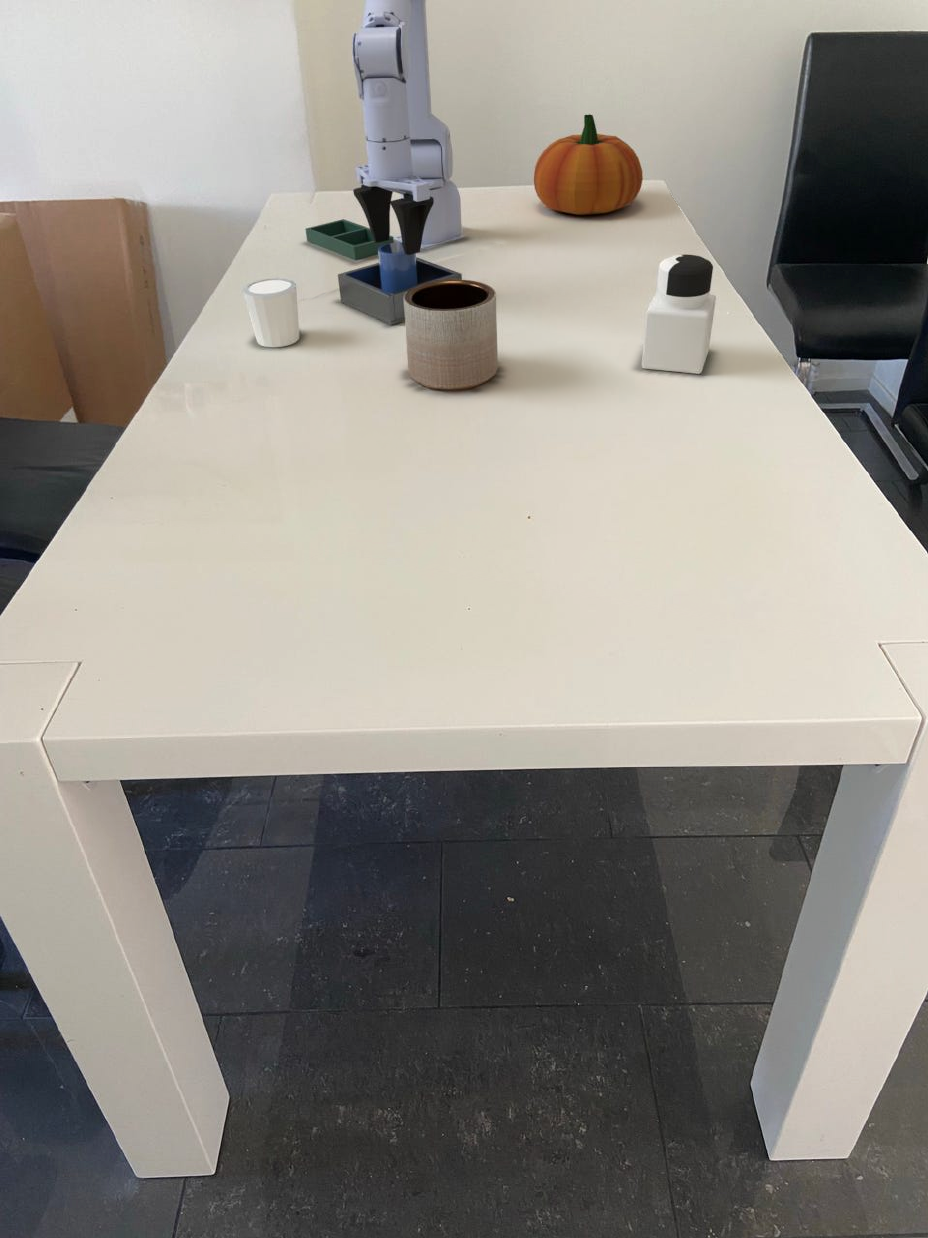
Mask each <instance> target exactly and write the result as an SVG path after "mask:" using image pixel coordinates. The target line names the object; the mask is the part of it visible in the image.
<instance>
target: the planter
mask: <svg viewBox="0 0 928 1238" xmlns="http://www.w3.org/2000/svg"><path fill="white" fill-rule="evenodd" d="M403 299H404V313H405V321H404V325H405V327H404V328H405V340H406V342H405V343H406V358H407V369H408V374H409V377H411V379H412V380H413V381H415V382H416V383H418V384H420V385H422V386H424V387H427V388H431V389H434V390H440V391H441V390H442V391H458V390H465V389H471V388H474V387H477V386H479V385H483V384H484V383H486V382H487V381H488V380H490V379H492V378H493V377H494V376H495V375H496V373H497V371H498V367H499V356H498V354H499V352H498V327H497V326H498V324H497V321H498V320H497V292H496V290H495V289H494V288H493V287H492V286H490V285H489V284H486V283H483V282H480V281H476V280H470V279H468V280H467V279H462V280H459V279H452V280H439V281H432V282H428V283H424V284H421V285H418V286H415V287H413V288H411V289H410V290H408V291H407V292H406V293H405V295H404V298H403Z"/></svg>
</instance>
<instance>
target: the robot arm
mask: <svg viewBox="0 0 928 1238" xmlns="http://www.w3.org/2000/svg"><path fill="white" fill-rule="evenodd" d="M426 2H427V0H365V1H364V7H363V15H362V22H361V27H360V28H359V29H358V32H357V33H356V32H353V34H352V38H351V57H352V59H351V60H352V65H353V71H354V75H355V79H356V84H357V94H358V98H359V99H360V100H361V101H362V103H361V104H362V112H363V114H362V115H363V124H364V135H365V144H366V153H367V155H366V156H367V164H364V165H359V166H356V167H355V174H356V182H357V183H358V184H361V185H360V187H356V188H354V189H353V190H352V192H353V195H354V197H355V198H356V200H357V201H358V203H359V205H360V207H361V209H362V212H363V213H364V216H365V218H366V221H367V224H368V228H370V230H371V233H372V236H373V239H374V241H375V242H376V243H379V242H383V241H387V240H389V236H391V220H390V219H391V217H390V216H391V208H392V210H393V212H394V214H395V217H396V219H397V222H398V226H399V230H400V235H399V236H397V237H393V240H394V241H397V242H398V243H402V244H403V248H404V252H405V254H406V255H412V254H415V253H416V254H419V253H421V250H424V249H427V248H431V247H435V246H438V245H442V244H445V243H448V242H449V243H450V242H453V241H457V240H459V239H462V238H465V237H466V235H464V234H463V232H462V231H463V229H462V204H461V194H460V191H459V188H458V187H457V185H456V184H455V182H453V181H452V180H451V178H453V170H454V169H453V168H454V166H453V164H454V161H453V159H454V157H453V146H452V140H451V131H450V130H449V127H448V125H447V124H446V123H444V122H443V121H442V120H440V119H439V118H438V117H437V116H435V114H433V113H432V98H431V96H432V95H431V79H430V61H429V43H428V42H429V41H428V25H427V23H428V22H427V5H426ZM393 193H396V194H399V195H400V198H398V199H393V200H392V197H393Z"/></svg>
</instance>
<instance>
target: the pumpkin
mask: <svg viewBox="0 0 928 1238" xmlns="http://www.w3.org/2000/svg"><path fill="white" fill-rule="evenodd" d="M583 124H584V125H583V126H584V127H583V128H582V132H581V134H571V135H568V136H565V137H562V138H558V139H556V140H555V141H554V142H552V143H550V144H549V145H548V146H547V147H546V148H545V149H544V150H543V151H542V152H541V154H540V155H539V156H538V158H537V161H536V164H535V166H534V174H533V185H534V190H535V194H536V196H537V197H538V199H539V200H540V202H541V203H542V205H544V206H545V207H546V209H549V210H553V211H557V212H560V213H567V214H571V215H576V216H589V215H603V214H606V213H610V212H613V211H616V210H620V209H621V208H625V207H626V206H628V205H630V204H632V203H633V202H634V200H635V199H636V198H637V197H638V195H639V193H640V191H641V188H642V185H643V178H644V177H643V168H642V165H641V162H640V159H639V156H638V155H637V154H636V152H635V150H634V149H633V148H632V147H631V146H630V145H629V144H628V143H627V142H625V141H624V140H623V139H621V138H620V137H618V136H616V135H609V134H608V135H606V134H601V133H598V132H597V126H596V122H595V118H594V115H593V114H585V115H583Z"/></svg>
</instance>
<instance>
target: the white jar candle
mask: <svg viewBox="0 0 928 1238" xmlns="http://www.w3.org/2000/svg"><path fill="white" fill-rule="evenodd" d="M242 294H243V298H244V301H245V305H246V307H247V312H248V315H249V318H250V321H251V325H252V329H253V332H254V336H255V340H256V342H257V343H258V345H259V346H262V347H264V348H282V347H287V346H291V345H292V344H295V343H297V341H299V340H300V323H299V309H298V294H297V283H296V282H295V281H294V280H292V279H287V278H280V277H279V278H278V277H276V278H264V279H260V280H255V281H252V282H249V283H248V284H246V285H245V286H243V288H242Z"/></svg>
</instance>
